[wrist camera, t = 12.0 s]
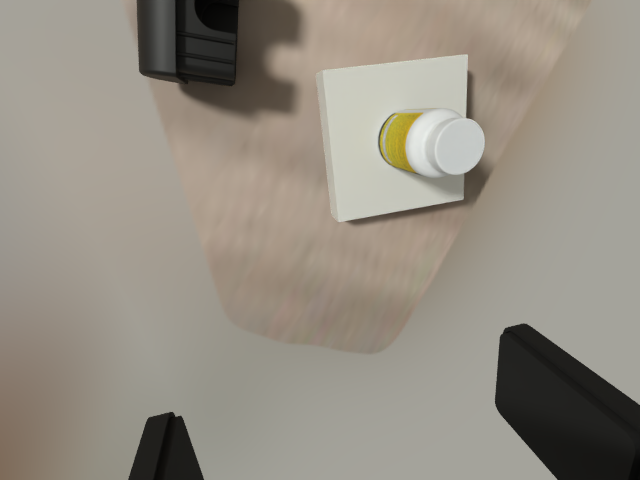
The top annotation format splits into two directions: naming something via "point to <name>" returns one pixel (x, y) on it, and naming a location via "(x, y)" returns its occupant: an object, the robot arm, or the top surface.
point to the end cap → (188, 40)
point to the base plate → (363, 125)
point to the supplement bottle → (430, 142)
